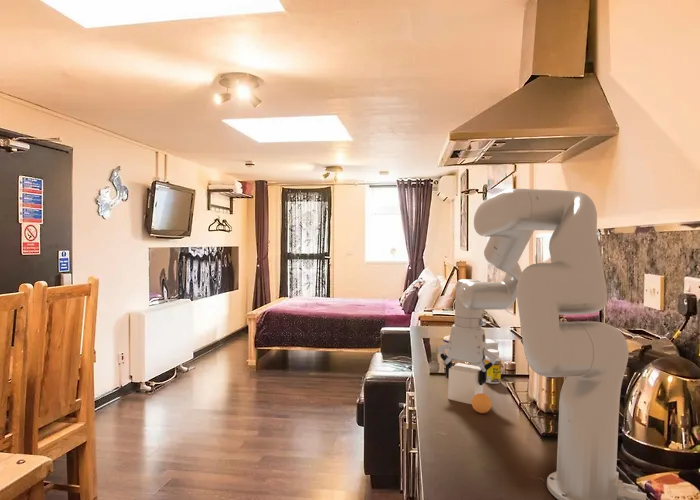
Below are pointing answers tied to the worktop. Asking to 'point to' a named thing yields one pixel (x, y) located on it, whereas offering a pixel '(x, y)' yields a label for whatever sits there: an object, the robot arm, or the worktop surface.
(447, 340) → the teacup with lid
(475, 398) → the ball
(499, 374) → the supplement bottle
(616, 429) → the robot arm
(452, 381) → the cream matte cube
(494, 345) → the small box
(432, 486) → the worktop surface
